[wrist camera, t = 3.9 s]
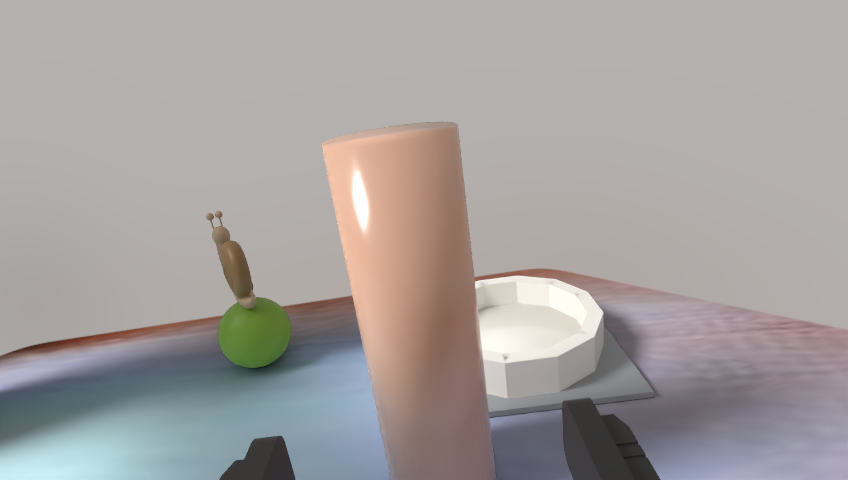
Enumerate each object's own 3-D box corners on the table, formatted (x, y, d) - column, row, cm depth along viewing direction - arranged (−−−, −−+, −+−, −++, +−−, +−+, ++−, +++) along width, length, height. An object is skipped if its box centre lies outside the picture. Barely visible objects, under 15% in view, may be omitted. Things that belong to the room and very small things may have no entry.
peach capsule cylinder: (389, 529, 23) (308, 154, 17) (393, 444, 28) (333, 134, 22) (504, 515, 23) (464, 132, 17) (487, 432, 28) (452, 117, 22)
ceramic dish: (437, 407, 30) (432, 372, 29) (431, 314, 41) (427, 287, 40) (630, 383, 30) (630, 347, 29) (570, 296, 41) (569, 268, 40)
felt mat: (423, 425, 29) (422, 420, 29) (420, 314, 42) (419, 310, 42) (653, 397, 29) (654, 391, 29) (578, 294, 42) (578, 290, 42)
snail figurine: (281, 331, 43) (247, 202, 39) (307, 361, 38) (270, 216, 34) (219, 356, 40) (175, 221, 36) (237, 392, 35) (188, 239, 31)
